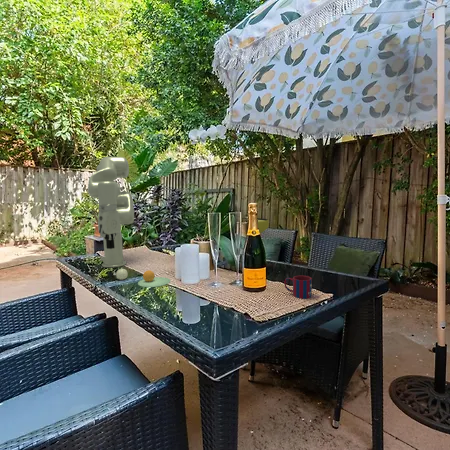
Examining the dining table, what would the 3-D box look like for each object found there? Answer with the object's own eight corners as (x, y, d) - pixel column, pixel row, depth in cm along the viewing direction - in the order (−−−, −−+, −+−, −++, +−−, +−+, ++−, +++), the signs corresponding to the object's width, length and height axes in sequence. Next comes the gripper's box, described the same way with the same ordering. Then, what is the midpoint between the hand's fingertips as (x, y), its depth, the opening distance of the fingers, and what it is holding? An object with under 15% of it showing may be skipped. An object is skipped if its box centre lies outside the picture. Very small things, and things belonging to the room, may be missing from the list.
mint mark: (131, 285, 132) (131, 284, 132) (150, 276, 145) (150, 276, 145) (159, 288, 127) (159, 287, 127) (176, 279, 140) (176, 278, 140)
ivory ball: (122, 274, 137) (121, 283, 139) (130, 269, 141) (129, 278, 143) (114, 269, 139) (113, 278, 141) (122, 265, 143) (121, 274, 145)
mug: (308, 300, 110) (308, 281, 109) (281, 295, 116) (281, 277, 115) (313, 294, 116) (314, 276, 115) (288, 290, 121) (288, 273, 120)
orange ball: (152, 275, 133) (148, 285, 135) (158, 272, 138) (154, 281, 139) (143, 269, 135) (139, 279, 136) (149, 267, 139) (145, 276, 141)
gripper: (102, 209, 132) (105, 251, 135) (125, 207, 146) (127, 245, 148) (89, 209, 135) (92, 251, 137) (112, 207, 149) (115, 245, 151)
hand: (110, 248), depth 143 cm, fingers closed
